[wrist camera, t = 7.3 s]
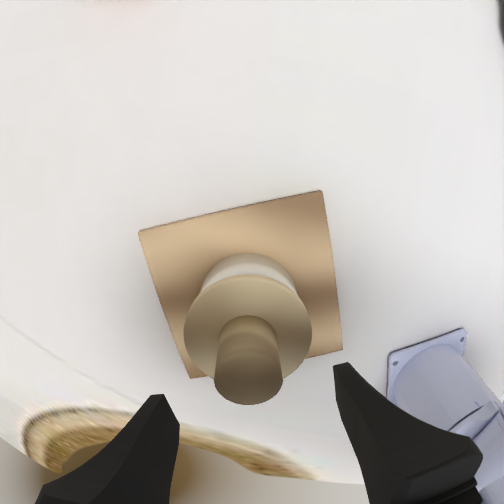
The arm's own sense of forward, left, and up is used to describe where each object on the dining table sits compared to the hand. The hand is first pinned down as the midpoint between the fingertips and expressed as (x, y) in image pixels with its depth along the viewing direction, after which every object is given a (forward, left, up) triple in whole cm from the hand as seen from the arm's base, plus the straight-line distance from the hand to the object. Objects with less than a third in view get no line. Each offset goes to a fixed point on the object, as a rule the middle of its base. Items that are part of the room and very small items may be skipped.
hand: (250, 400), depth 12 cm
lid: (0, 0, -5) cm, 5 cm away
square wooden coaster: (0, 0, -10) cm, 10 cm away
